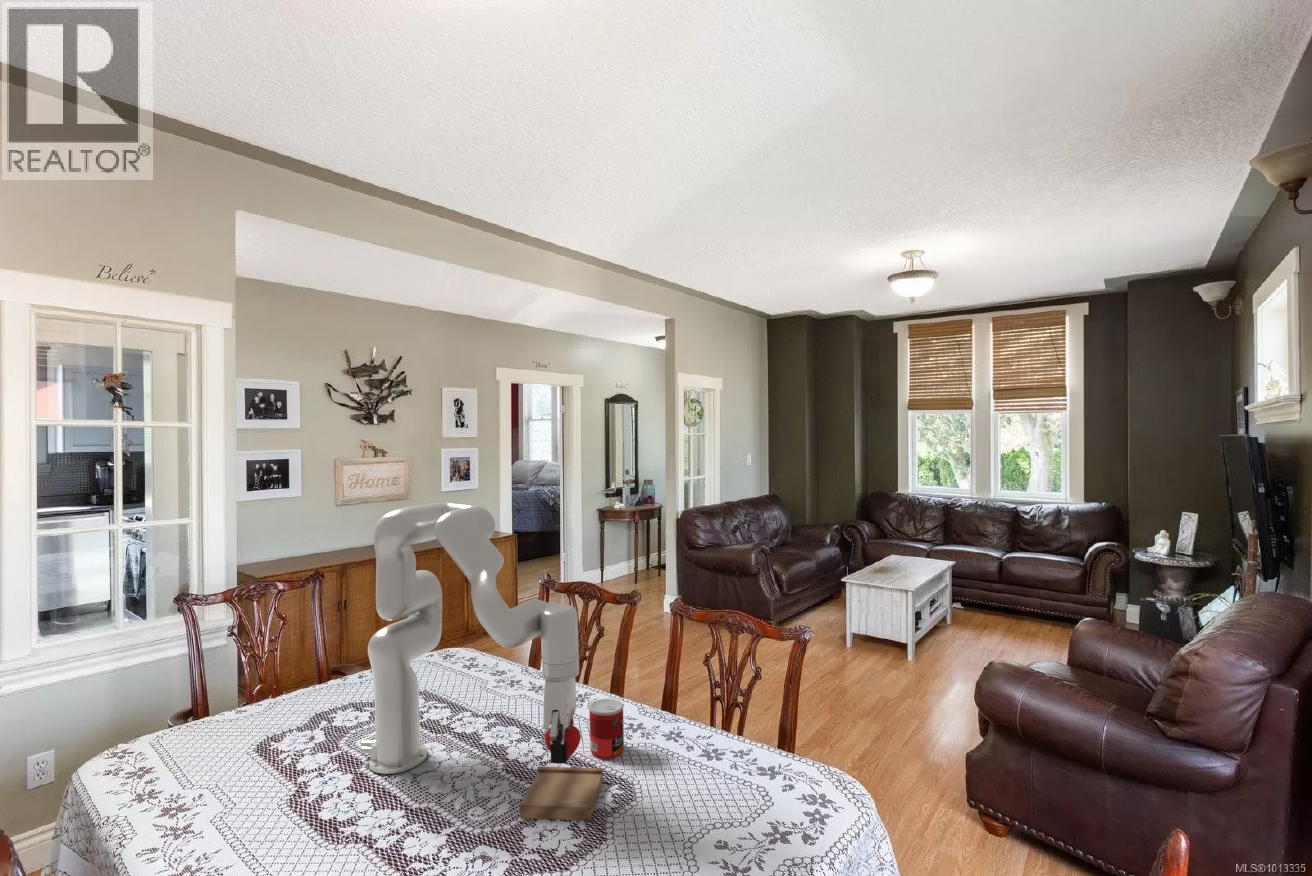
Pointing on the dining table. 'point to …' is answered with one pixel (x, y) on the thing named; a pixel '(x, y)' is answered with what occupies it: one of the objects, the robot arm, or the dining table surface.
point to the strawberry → (566, 738)
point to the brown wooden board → (563, 793)
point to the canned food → (606, 728)
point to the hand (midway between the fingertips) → (562, 753)
